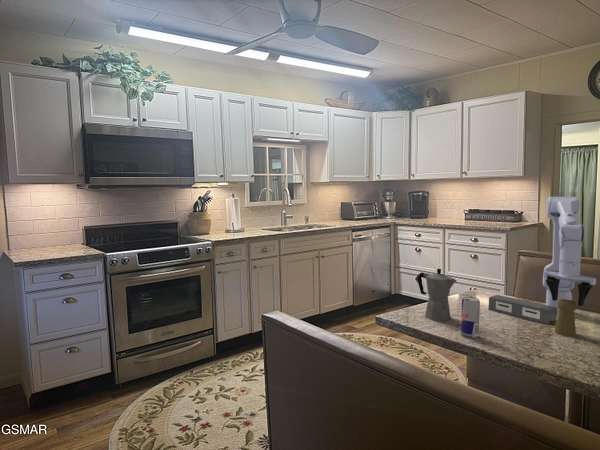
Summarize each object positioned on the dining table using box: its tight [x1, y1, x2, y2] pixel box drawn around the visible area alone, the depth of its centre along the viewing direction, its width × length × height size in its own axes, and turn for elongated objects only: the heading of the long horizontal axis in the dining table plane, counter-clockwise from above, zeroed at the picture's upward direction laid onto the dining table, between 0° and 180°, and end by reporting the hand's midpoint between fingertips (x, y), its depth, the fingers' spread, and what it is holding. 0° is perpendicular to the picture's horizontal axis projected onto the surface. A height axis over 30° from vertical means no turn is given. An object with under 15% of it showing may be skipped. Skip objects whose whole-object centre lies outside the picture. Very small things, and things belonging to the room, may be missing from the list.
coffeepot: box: [416, 268, 457, 322], centre depth 153 cm, size 15×9×18 cm, turn 44°
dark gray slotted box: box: [488, 294, 558, 325], centre depth 155 cm, size 6×22×5 cm, turn 36°
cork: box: [553, 299, 577, 337], centre depth 136 cm, size 6×6×11 cm
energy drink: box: [460, 296, 481, 339], centre depth 133 cm, size 5×5×12 cm
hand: (567, 302), depth 136 cm, fingers open, 7 cm apart
